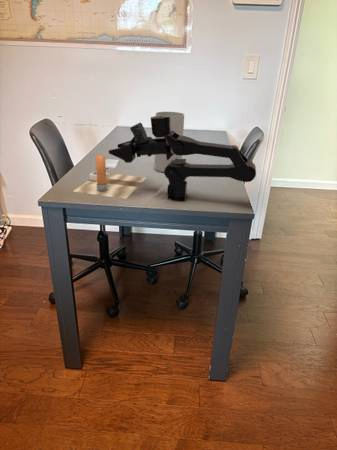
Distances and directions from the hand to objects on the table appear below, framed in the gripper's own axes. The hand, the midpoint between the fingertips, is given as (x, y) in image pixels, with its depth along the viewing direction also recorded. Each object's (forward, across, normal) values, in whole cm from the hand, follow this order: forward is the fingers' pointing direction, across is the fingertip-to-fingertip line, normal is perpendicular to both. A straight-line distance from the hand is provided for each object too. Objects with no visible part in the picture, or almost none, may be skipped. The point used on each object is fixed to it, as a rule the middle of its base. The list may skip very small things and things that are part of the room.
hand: (113, 148), depth 124 cm
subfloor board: (+4, -2, +16) cm, 17 cm away
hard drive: (+16, -30, +15) cm, 37 cm away
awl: (+5, +5, +14) cm, 16 cm away
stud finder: (+11, -5, +13) cm, 18 cm away
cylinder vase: (-12, -32, +18) cm, 39 cm away
